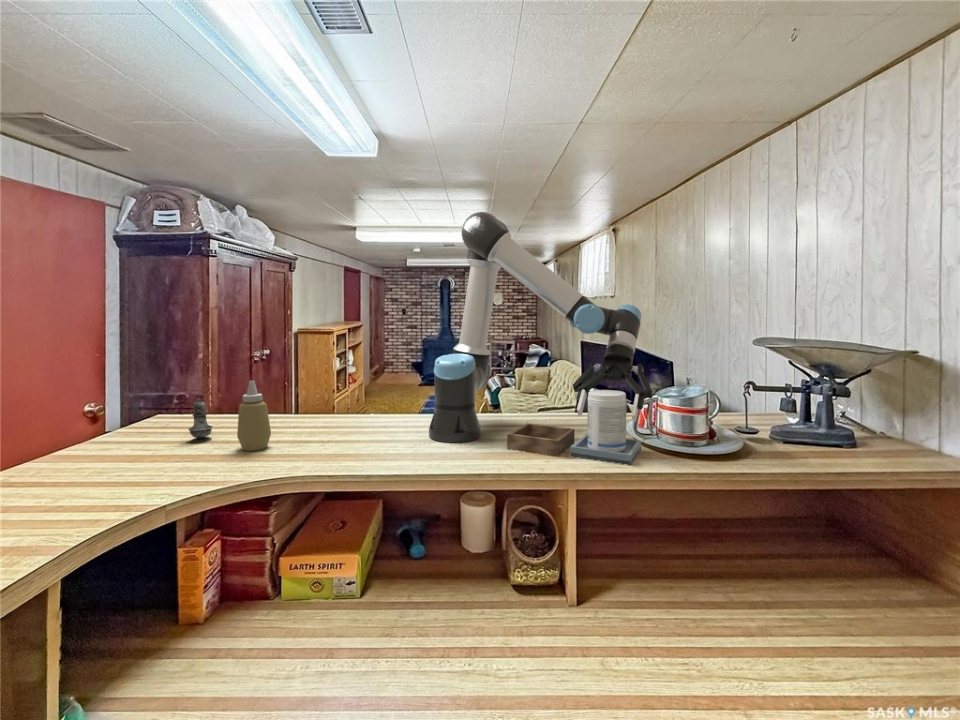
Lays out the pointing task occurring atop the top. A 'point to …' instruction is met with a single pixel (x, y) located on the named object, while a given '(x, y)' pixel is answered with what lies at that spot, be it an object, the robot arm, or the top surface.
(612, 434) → the supplement tub
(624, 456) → the tray
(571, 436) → the tray
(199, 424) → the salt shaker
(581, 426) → the top surface
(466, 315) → the robot arm
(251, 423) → the squeeze bottle
